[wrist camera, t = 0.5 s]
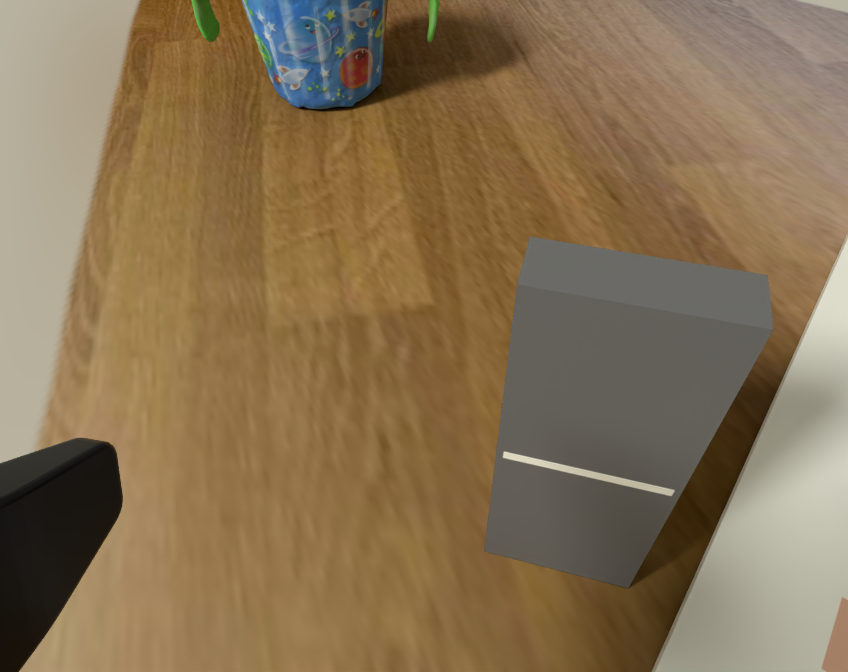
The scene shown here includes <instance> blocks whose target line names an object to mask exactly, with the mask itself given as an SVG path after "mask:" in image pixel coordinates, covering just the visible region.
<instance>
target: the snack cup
mask: <svg viewBox="0 0 848 672" xmlns="http://www.w3.org/2000/svg"><path fill="white" fill-rule="evenodd" d="M387 1H388V0H242V3H243V6H244V9H245V12H246V15H247V17H248V20H249V23H250V25H251V28H252V29H253V32H254V37H255V39H256V42H257V45H258V48H259V50H260V53H261V56H262V58H263V60H264V63H265V66H266V69H267V71H268V75H269V78H270V80H271V82H272V84H273V86H274V88H275V90H276V91H277V92H278V94H279V95H280V96H281V97H282V98H283V99H285V100H287V101H289V103H290V104H291V105H293V106H295V107H298V108H300V107H306V108H309V109H327V108H331V107H338V106H341V107H351V106H353V105H354V104H355V102H358V101H360V100H362V99H363V98H365V97H367V96H368V95H369V94H370V93H371V92H372V91H373V90H374V89H375V88H376V87H377V86H378V85H380V84H381V77H382V70H383V56H384V41H385V32H386V17H387ZM428 3H429V26H428V29H427V40H428V42H432V40H433V37H434V33H435V29H436V23H437V17H438V8H439V0H428ZM192 5H193V10H194V14H195V18H196V21H197V24H198V27H199V29H200V31H201V33H202V35H203V36H204V38H205V39H206V40H208V41H209V42H213V41H215V40H216V38H217V36H218V34H219V23H218V21H217V20H216V18H215V15H214V12H213V10H212V7H211V4H210V2H209V0H192Z"/></svg>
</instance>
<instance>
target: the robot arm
mask: <svg viewBox="0 0 848 672" xmlns="http://www.w3.org/2000/svg"><path fill="white" fill-rule="evenodd" d="M122 502H123V495H122V488H121V481H120V473H119V466H118V459H117V453H116V450H115V448H114V447H113V445H111V444H110V443H108V442H105V441H99V440H93V439H88V438H75V439H72V440H69V441H66V442H63V443H60V444H57V445H54V446H51V447H48V448H45V449H42V450H39V451H36V452H33V453H30V454H27V455H24V456H21V457H18V458H15V459H12V460H9V461H6V462H3V463H0V672H19V671H20V669H21V668H22V667H23V665H24V664H25V663H26V661H27V660H28V659H29V657H30V656H31V655H32V653H33V652H34V651H35V649H36V648H37V646H38V645H39V644H40V642H41V641H42V639H43V638H44V637H45V635H46V634H47V632H48V631H49V629H50V628H51V626H52V625H53V623H54V622H55V620H56V619H57V617H58V616H59V614H60V613H61V611H62V609H63V608H64V606H65V604H66V603H67V601H68V600H69V598H70V596H71V595H72V593H73V591H74V590H75V588H76V586H77V585H78V583H79V581H80V580H81V578H82V576H83V575H84V573H85V572H86V570H87V568H88V567H89V565H90V563H91V562H92V560H93V558H94V557H95V555H96V553H97V552H98V550H99V548H100V547H101V545H102V543H103V542H104V540H105V539H106V537H107V535H108V534H109V532H110V530H111V529H112V527H113V525H114V524H115V522H116V520H117V518H118V516H119V514H120V511H121V508H122Z"/></svg>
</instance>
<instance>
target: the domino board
mask: <svg viewBox="0 0 848 672" xmlns="http://www.w3.org/2000/svg"><path fill="white" fill-rule="evenodd" d="M652 672H848V234H847V236H846V238H845V241H844V243H843V245H842V247H841V250H840V252H839V254H838V256H837V258H836V261H835V263H834V265H833V267H832V270H831V272H830V274H829V276H828V279H827V281H826V283H825V285H824V287H823V290H822V292H821V294H820V296H819V299H818V301H817V303H816V305H815V308H814V310H813V312H812V314H811V317H810V319H809V321H808V323H807V325H806V328H805V330H804V332H803V334H802V337H801V339H800V341H799V343H798V346H797V348H796V350H795V352H794V354H793V357H792V359H791V361H790V363H789V366H788V368H787V370H786V372H785V375H784V377H783V379H782V381H781V383H780V386H779V388H778V390H777V392H776V395H775V397H774V399H773V401H772V404H771V406H770V408H769V410H768V413H767V415H766V417H765V419H764V421H763V424H762V426H761V428H760V430H759V433H758V435H757V437H756V439H755V442H754V444H753V446H752V448H751V450H750V453H749V455H748V457H747V459H746V462H745V464H744V466H743V468H742V471H741V473H740V475H739V477H738V479H737V482H736V484H735V486H734V488H733V491H732V493H731V495H730V497H729V500H728V502H727V504H726V506H725V509H724V511H723V513H722V515H721V517H720V520H719V522H718V524H717V526H716V529H715V531H714V533H713V535H712V538H711V540H710V542H709V544H708V546H707V549H706V551H705V553H704V555H703V558H702V560H701V562H700V564H699V567H698V569H697V571H696V573H695V576H694V578H693V580H692V582H691V584H690V587H689V589H688V591H687V593H686V596H685V598H684V600H683V602H682V605H681V607H680V609H679V611H678V613H677V616H676V618H675V620H674V622H673V625H672V627H671V629H670V631H669V634H668V636H667V638H666V640H665V642H664V645H663V647H662V649H661V651H660V654H659V656H658V658H657V660H656V663H655V665H654V667H653V669H652Z"/></svg>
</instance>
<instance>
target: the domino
mask: <svg viewBox="0 0 848 672" xmlns="http://www.w3.org/2000/svg"><path fill="white" fill-rule="evenodd" d="M772 331H773V322H772V312H771V302H770V292H769V282H768V275H763V274H757V273H751V272H745V271H738V270H732V269H726V268H720V267H714V266H708V265H702V264H695V263H689V262H683V261H677V260H671V259H665V258H658V257H652V256H646V255H640V254H634V253H628V252H621V251H615V250H609V249H603V248H597V247H591V246H584V245H578V244H572V243H566V242H560V241H554V240H547V239H541V238H535V237H530V238H529V242H528V246H527V250H526V253H525V257H524V261H523V265H522V268H521V272H520V276H519V280H518V283H517V290H516V298H515V306H514V315H513V323H512V331H511V339H510V347H509V355H508V363H507V371H506V379H505V387H504V395H503V403H502V411H501V419H500V427H499V435H498V444H497V452H496V460H495V468H494V476H493V484H492V492H491V500H490V508H489V516H488V524H487V532H486V540H485V548H484V551H485V552H489V553H493V554H497V555H501V556H504V557H508V558H512V559H516V560H520V561H524V562H528V563H532V564H536V565H539V566H543V567H547V568H551V569H555V570H559V571H563V572H567V573H571V574H574V575H578V576H582V577H586V578H590V579H594V580H598V581H602V582H605V583H609V584H613V585H617V586H621V587H625V588H629V586H630V584H631V583H632V581H633V579H634V577H635V576H636V574H637V572H638V570H639V568H640V567H641V565H642V563H643V561H644V560H645V558H646V556H647V554H648V552H649V551H650V549H651V547H652V545H653V543H654V542H655V540H656V538H657V536H658V535H659V533H660V531H661V529H662V527H663V526H664V524H665V522H666V520H667V518H668V517H669V515H670V513H671V511H672V510H673V508H674V506H675V504H676V502H677V501H678V499H679V497H680V495H681V494H682V492H683V490H684V488H685V486H686V485H687V483H688V481H689V479H690V477H691V476H692V474H693V472H694V470H695V469H696V467H697V465H698V463H699V461H700V460H701V458H702V456H703V454H704V453H705V451H706V449H707V447H708V445H709V444H710V442H711V440H712V438H713V436H714V435H715V433H716V431H717V429H718V428H719V426H720V424H721V422H722V420H723V419H724V417H725V415H726V413H727V412H728V410H729V408H730V406H731V404H732V403H733V401H734V399H735V397H736V395H737V394H738V392H739V390H740V388H741V387H742V385H743V383H744V381H745V379H746V378H747V376H748V374H749V372H750V370H751V369H752V367H753V365H754V363H755V362H756V360H757V358H758V356H759V354H760V353H761V351H762V349H763V347H764V346H765V344H766V342H767V340H768V338H769V337H770V335H771V333H772Z"/></svg>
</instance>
